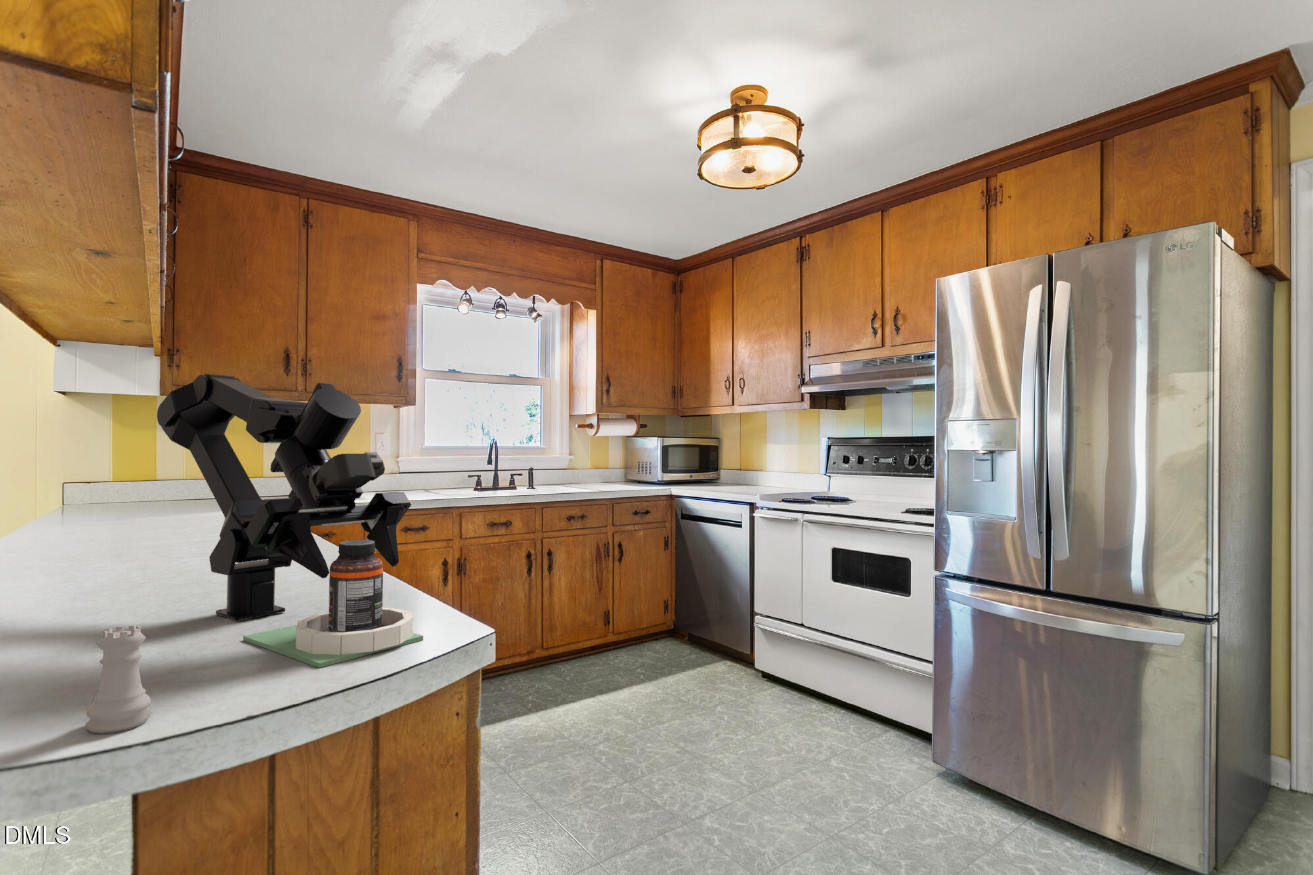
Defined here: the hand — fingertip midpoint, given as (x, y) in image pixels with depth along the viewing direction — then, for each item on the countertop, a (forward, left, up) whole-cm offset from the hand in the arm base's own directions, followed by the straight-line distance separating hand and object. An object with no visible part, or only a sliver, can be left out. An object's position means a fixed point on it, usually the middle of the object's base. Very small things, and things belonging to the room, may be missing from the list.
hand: (362, 569), depth 80 cm
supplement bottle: (-1, 0, -8) cm, 8 cm away
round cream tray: (-1, 0, -9) cm, 9 cm away
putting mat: (-4, -1, -9) cm, 10 cm away
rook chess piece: (+5, -25, -9) cm, 27 cm away
